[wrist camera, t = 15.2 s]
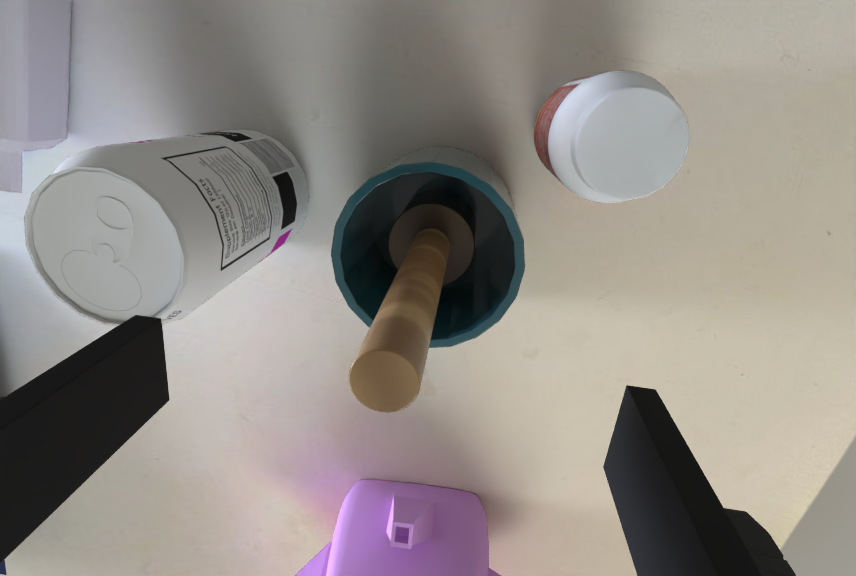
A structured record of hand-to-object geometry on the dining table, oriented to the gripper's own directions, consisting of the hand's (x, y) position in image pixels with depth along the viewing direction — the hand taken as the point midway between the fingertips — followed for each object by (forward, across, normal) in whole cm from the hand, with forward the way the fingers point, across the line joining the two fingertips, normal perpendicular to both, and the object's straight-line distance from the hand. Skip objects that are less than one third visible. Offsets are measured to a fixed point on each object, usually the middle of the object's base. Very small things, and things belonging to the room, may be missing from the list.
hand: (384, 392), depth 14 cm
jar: (+22, 0, 0) cm, 22 cm away
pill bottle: (+22, +8, +7) cm, 24 cm away
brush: (+21, 0, 0) cm, 21 cm away
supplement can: (+22, -13, 0) cm, 26 cm away
